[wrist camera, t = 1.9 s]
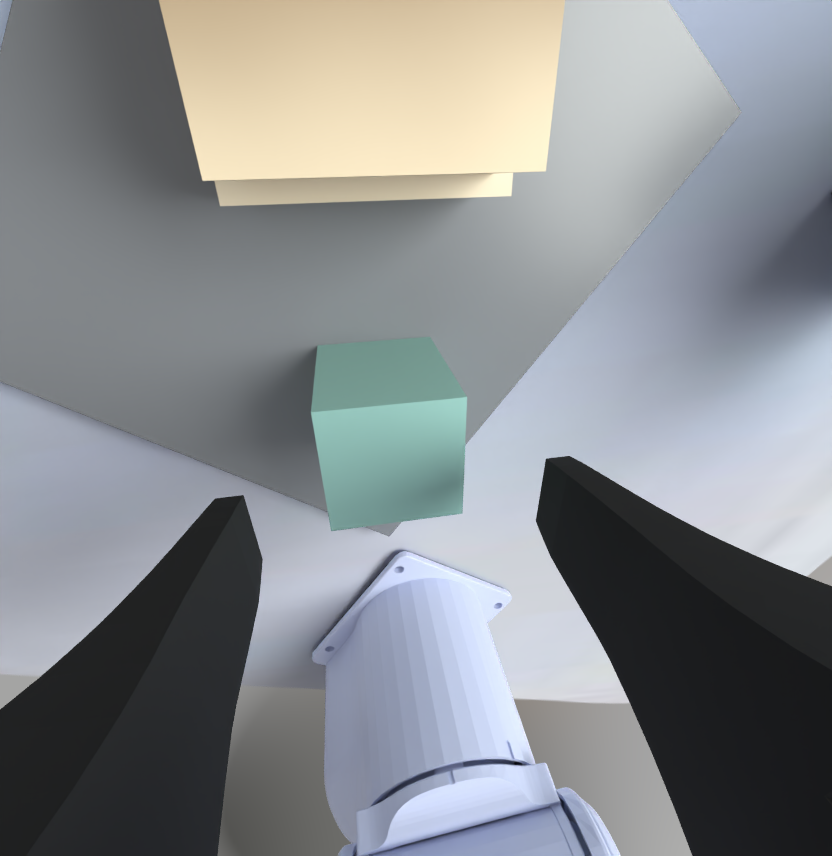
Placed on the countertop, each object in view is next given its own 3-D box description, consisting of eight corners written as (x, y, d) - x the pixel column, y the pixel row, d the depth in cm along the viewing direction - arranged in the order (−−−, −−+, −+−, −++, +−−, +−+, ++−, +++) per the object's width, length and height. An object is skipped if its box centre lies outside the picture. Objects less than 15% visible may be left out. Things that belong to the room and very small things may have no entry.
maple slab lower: (476, 192, 13) (511, 196, 11) (243, 201, 12) (220, 206, 10) (491, -158, 10) (548, -280, 7) (165, -184, 9) (95, -334, 6)
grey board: (387, 522, 21) (389, 536, 20) (-48, 342, 14) (-73, 352, 13) (717, 116, 14) (741, 111, 13) (205, -621, 7) (188, -728, 6)
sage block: (430, 431, 17) (462, 513, 13) (332, 442, 17) (331, 531, 13) (430, 336, 15) (467, 397, 11) (317, 345, 15) (311, 412, 11)
